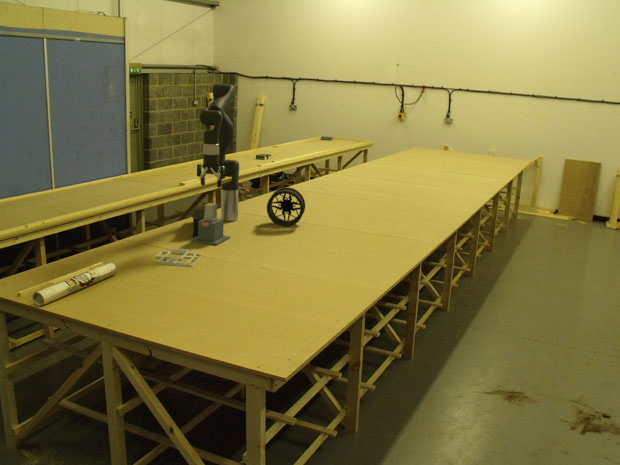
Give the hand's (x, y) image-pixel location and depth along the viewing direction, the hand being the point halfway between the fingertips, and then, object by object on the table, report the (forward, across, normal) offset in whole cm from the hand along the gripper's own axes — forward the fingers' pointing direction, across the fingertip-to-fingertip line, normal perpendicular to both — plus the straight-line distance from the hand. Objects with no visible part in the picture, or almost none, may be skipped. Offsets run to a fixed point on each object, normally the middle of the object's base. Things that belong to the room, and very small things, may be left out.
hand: (211, 186), depth 295 cm
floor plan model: (+28, +2, +32) cm, 43 cm away
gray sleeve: (+27, 0, 0) cm, 27 cm away
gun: (+28, +15, -15) cm, 35 cm away
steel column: (+25, 0, 0) cm, 25 cm away
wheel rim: (+27, -22, -45) cm, 57 cm away
